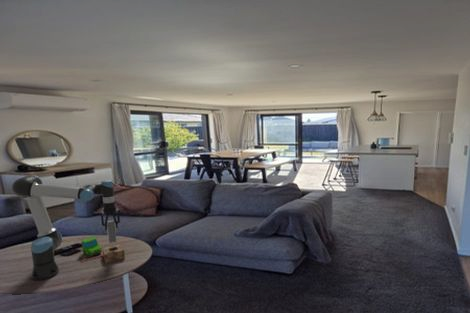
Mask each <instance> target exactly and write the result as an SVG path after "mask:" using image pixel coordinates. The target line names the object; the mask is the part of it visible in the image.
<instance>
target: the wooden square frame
mask: <svg viewBox="0 0 470 313" xmlns="http://www.w3.org/2000/svg"><path fill="white" fill-rule="evenodd" d="M102 255H103V256H102V257H103V259H104V263H105V264H106V263H107V264H108V263H111V262H114V261H119V260H122V259H125V249H124V246H123V244H122V243H119V244H115V245H111V246H107V247H102Z"/></svg>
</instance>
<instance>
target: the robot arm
mask: <svg viewBox="0 0 470 313" xmlns="http://www.w3.org/2000/svg"><path fill="white" fill-rule="evenodd" d="M11 190H12V193H13V194H14V195H16V196H17V197H21V198H22V199H23V200H26V202H27V204H28V207H29V211H30V212H31V215H32V218H33V220H34V223H35V226H36V229H37V231H38V234H37V235H36V237H37V238H36V239H35V240H33V241H32V243H31V244H30V252H31V257H32V258H31V259H32V265H33V266H32V270H31V273H30V274H31V275H30V278H31V280H32V281H38V282H39V281H44V280H48V279H50V278H53V277H54V276H57V275H58V274H59V272H60V269H59V266H58V264H57V263H56V260H55V251H56V250H57V249H58V248H59V247H60V245H61V244H62V242H63V236H62V234H61V232H59V231H58V230H57V228H55V227H54V226H53V223H52V221H51V219H50V218H51V217H50V214H49V213H48V211H47V210H48V209H47V206H46V204H45V202H44V199H43V197H45V198H47V197H49V198H59V199H74V200H81V201H83V202H89V201H91V200H92V199H93V198H94V197H95V196H98V195H99V196H101V195H102V203H103V210H101V211H99V215H100V219H101V225H102V227H104V230H105V231H106V235H107V236H108V235H109V231H108V225H107V221H109V219H108V218H109V216H112V219H113V220H114V222H115V233H116V234H117V229H118V224H119V223H121V221H120V220H121V219H120V211H121V209H120V208H116V202H115V191H114V182H113V180H110V179H109V180H108V179H107V180H101V182H100V183H99V184H96V183H95V184H86V185H83V186H82V187H79V186H78V187H76V186H66V185H65V186H64V185H53V184H45V183H43V180H42V179H41V177H40V176H38V175H35V174H30V175H24V176H23V177H21V178H18V179H16V180H15V181H14V182H13V183H12V185H11ZM115 212H116V216H115ZM104 214H105V219H104ZM116 218H117V219H116Z"/></svg>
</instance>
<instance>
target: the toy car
mask: <svg viewBox="0 0 470 313" xmlns="http://www.w3.org/2000/svg"><path fill="white" fill-rule="evenodd" d="M81 246H82V247H81V249H82V253H83V254H84V255H88V257H93V256H95V255H98V254H100V253H103V249H102V246H100V244H99V243H98V240H97V238H95V237H89V238H86V239H83V240H81Z"/></svg>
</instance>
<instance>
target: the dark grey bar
mask: <svg viewBox="0 0 470 313" xmlns="http://www.w3.org/2000/svg"><path fill="white" fill-rule="evenodd" d="M107 225H108V231H109V235H108V234H107V236H108V242H109V244H111V243H117V237H116V235H117V232H116V233H115V221H114V219H112V220H108V221H107Z"/></svg>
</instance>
